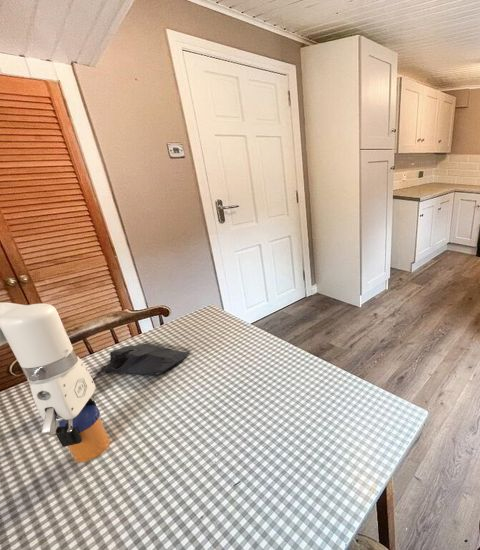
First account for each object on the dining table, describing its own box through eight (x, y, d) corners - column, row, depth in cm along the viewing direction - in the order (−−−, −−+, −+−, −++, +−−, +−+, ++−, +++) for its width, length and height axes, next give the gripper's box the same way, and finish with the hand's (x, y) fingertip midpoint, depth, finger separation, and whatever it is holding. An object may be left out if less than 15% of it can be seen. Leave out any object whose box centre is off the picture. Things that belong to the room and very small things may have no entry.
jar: (67, 466, 66) (50, 434, 62) (82, 441, 72) (67, 411, 68) (102, 457, 68) (87, 426, 64) (114, 434, 73) (101, 404, 70)
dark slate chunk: (155, 384, 89) (151, 371, 87) (97, 372, 94) (92, 360, 92) (194, 353, 103) (191, 341, 101) (142, 344, 108) (138, 333, 106)
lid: (83, 435, 63) (80, 430, 63) (47, 437, 63) (44, 431, 62) (108, 409, 70) (105, 403, 69) (76, 410, 70) (73, 405, 69)
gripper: (47, 389, 54) (82, 459, 61) (94, 337, 69) (118, 397, 76) (-7, 399, 52) (35, 470, 59) (54, 343, 67) (82, 404, 74)
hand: (82, 428), depth 67 cm, fingers closed on lid, 7 cm apart
